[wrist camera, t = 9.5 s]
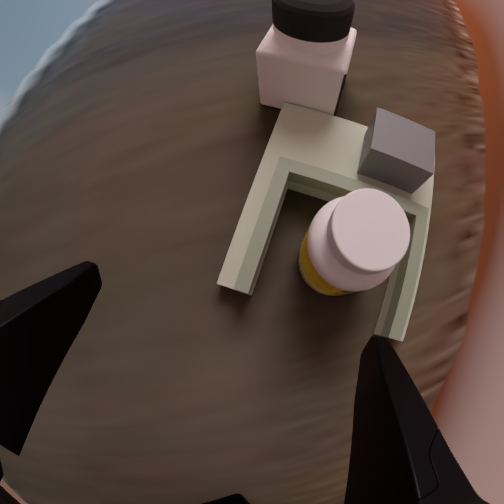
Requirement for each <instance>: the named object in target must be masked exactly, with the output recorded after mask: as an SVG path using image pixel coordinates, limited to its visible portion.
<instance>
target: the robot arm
mask: <svg viewBox="0 0 504 504" xmlns="http://www.w3.org/2000/svg"><path fill="white" fill-rule="evenodd" d="M101 286H102V281H101V277H100V273H99V269H98V266H97V265H96V264H95V263H92V262H89V261H85V262H82V263H80V264H78V265H76V266H73V267H71V268H69V269H66V270H64V271H62V272H60V273H58V274H55V275H53V276H51V277H49V278H47V279H44V280H42V281H40V282H38V283H36V284H34V285H31V286H29V287H27V288H25V289H23V290H21V291H19V292H17V293H15V294H13V295H11V296H9V297H7V298H5V299H4V300H0V445H2V446H3V447H5V448H6V449H8V450H9V451H11V452H13V453H14V454H16V455H18V456H19V455H20V453H21V450H22V448H23V445H24V443H25V440H26V438H27V435H28V433H29V430H30V428H31V426H32V423H33V421H34V419H35V416H36V414H37V412H38V409H39V407H40V405H41V403H42V401H43V399H44V397H45V395H46V392H47V390H48V388H49V386H50V384H51V382H52V380H53V378H54V376H55V375H56V373H57V371H58V369H59V367H60V365H61V363H62V361H63V359H64V357H65V356H66V354H67V352H68V350H69V348H70V347H71V345H72V343H73V341H74V340H75V338H76V336H77V334H78V333H79V331H80V329H81V327H82V326H83V324H84V322H85V320H86V318H87V316H88V314H89V312H90V309H91V307H92V305H93V303H94V301H95V299H96V297H97V295H98V293H99V291H100V289H101ZM437 428H438V426H437V424H436V422H435V421H434V419H433V417H432V415H431V413H430V411H429V409H428V407H427V405H426V404H425V402H424V400H423V398H422V396H421V395H420V393H419V391H418V389H417V388H416V386H415V384H414V382H413V381H412V379H411V377H410V375H409V374H408V372H407V370H406V368H405V367H404V365H403V363H402V362H401V360H400V358H399V357H398V355H397V353H396V352H395V350H394V348H393V347H392V345H391V344H390V342H389V340H388V339H387V338H386V337H385V336H380V335H373V336H372V337H371V338H370V340H369V341H368V343H367V345H366V346H365V348H364V349H363V351H362V354H361V358H360V366H359V373H358V381H357V387H356V394H355V401H354V417H353V432H352V444H351V455H350V464H349V473H348V481H347V488H346V495H345V501H344V504H489V503H487V502H486V501H484V500H483V499H481V498H480V497H479V496H478V495H477V493H476V492H475V491H474V489H473V487H472V486H471V484H470V482H469V481H468V479H467V477H466V476H465V474H464V472H463V471H462V469H461V468H460V466H459V464H458V463H457V461H456V459H455V457H454V456H453V454H452V453H451V451H450V449H449V447H448V445H447V443H446V441H445V439H444V437H443V436H442V434H441V432H440V430H439V429H437ZM2 477H3V470H2V466H1V461H0V481H1V479H2ZM236 498H239V499H236ZM0 504H20V503H19V502H18V501H17V500H16V499H14V498H13V497H12V496H11V495H10V494H9V493H8V492H7V491H6V490H5V489H4V488H3V487H1V486H0ZM203 504H250V503H249V502H248V501H247V500H246V499H245V498H244V497H243V496H242V495H241V494H233V495H230V496H227V497H224V498H221V499H217V500H214V501H210V502H207V503H203Z"/></svg>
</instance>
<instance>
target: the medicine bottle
mask: <svg viewBox="0 0 504 504" xmlns="http://www.w3.org/2000/svg"><path fill="white" fill-rule="evenodd" d="M354 9H355V4H354V2H353V1H352V0H272V16H273V25H272V26H271V28H270V29H269V31H268V33H267V34H266V36H265V37H264V39H263V41H262V42H261V44H260V45H259V47H258V49H257V50H256V60H257V71H258V82H259V93H260V102H261V104H263V105H267V106H271V107H275V108H279V109H282V106H283V104H284V102H285V103H289V104H293V105H297V106H301V107H305V108H309V109H312V110H316V111H320V112H323V113H326V114H330V115H333V116H336V112H337V109H338V105H339V101H340V98H341V94H342V90H343V86H344V83H345V79H346V75H347V71H348V67H349V63H350V59H351V55H352V51H353V47H354V43H355V38H356V34H357V31H356V30H355V29H354V28H351V23H352V19H353V14H354Z"/></svg>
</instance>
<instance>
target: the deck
mask: <svg viewBox="0 0 504 504" xmlns="http://www.w3.org/2000/svg"><path fill="white" fill-rule="evenodd" d="M434 166H435V131H433V130H431V129H428V128H426V127H424V126H422V125H420V124H417V123H415V122H413V121H411V120H408V119H406V118H403V117H401V116H399V115H396V114H394V113H391V112H389V111H386V110H383V109H381V108H378V107H377V109H376V111H375V113H374V116H373V118H372V120H371V122H370V124H369V126H368V127H367V126H364V125H361V124H358V123H355V122H352V121H349V120H346V119H343V118H340V117H336V116H333V115H330V114H326V113H323V112H320V111H316V110H312V109H309V108H305V107H301V106H297V105H293V104H289V103H285V102H284V104H283V106H282V109H281V111H280V114H279V116H278V119H277V121H276V124H275V127H274V129H273V132H272V134H271V137H270V140H269V142H268V145H267V147H266V150H265V153H264V155H263V158H262V160H261V163H260V166H259V168H258V171H257V174H256V176H255V179H254V182H253V184H252V187H251V190H250V193H249V195H248V198H247V201H246V203H245V206H244V209H243V211H242V214H241V217H240V220H239V222H238V225H237V228H236V231H235V233H234V236H233V239H232V242H231V245H230V247H229V250H228V253H227V256H226V259H225V261H224V264H223V267H222V270H221V273H220V276H219V278H218V281H217V284H219V285H222V286H225V287H228V288H231V289H233V290H236V291H239V292H242V293H245V294H248V295H251V296H252V293H253V291H254V288H255V285H256V282H257V279H258V276H259V273H260V270H261V267H262V264H263V261H264V258H265V255H266V252H267V249H268V246H269V243H270V240H271V237H272V234H273V231H274V228H275V225H276V222H277V219H278V216H279V213H280V210H281V207H282V204H283V201H284V198H285V195H286V192H287V189H290V190H293V191H296V192H300V193H303V194H306V195H309V196H313V197H316V198H319V199H322V200H325V201H328V202H330V201H332V200H333V199H336V198H339V197H342V196H345V195H347V194H348V193H350V192H352V191H355V190H358V189H363V188H369V189H376V190H379V191H382V192H384V193H386V194H388V195H389V196H391V197H392V198H393V199H394V200H396V201H397V203H398V204H399V205H400V206H401V208H402V209H403V211H404V212H405V215H406V217H407V219H408V222H409V227H410V241H409V246H408V249H407V251H406V253H405V255H404V256H403V258H402V259H401V260H400V261H399V262H398V263H397V264H396V266H395V268H394V270H393V271H392V273H391V274H390V277H389V281H388V285H387V289H386V293H385V296H384V300H383V304H382V307H381V311H380V314H379V318H378V321H377V324H376V327H375V331H374V334H376V335H380V336H385V337H387V338H391V339H394V340H398V341H402V342H403V339H404V336H405V333H406V329H407V326H408V322H409V319H410V315H411V312H412V308H413V304H414V300H415V296H416V292H417V287H418V283H419V278H420V274H421V269H422V264H423V258H424V253H425V247H426V241H427V235H428V228H429V221H430V213H431V204H432V194H433V182H434Z"/></svg>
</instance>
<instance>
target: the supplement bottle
mask: <svg viewBox="0 0 504 504" xmlns="http://www.w3.org/2000/svg"><path fill="white" fill-rule="evenodd" d="M409 241H410V227H409V222H408V219H407V217H406V215H405V212H404V211H403V209H402V208H401V206H400V205H399V204H398V203H397V201H396V200H394V199H393V198H392V197H391V196H389V195H388V194H386V193H384V192H382V191H379V190H376V189H369V188H363V189H358V190H355V191H352V192H350V193H348V194H347V195H345V196H342V197H339V198H336V199H333V200H332V201H330V202H328V203H327V204H326V205H324V206H323V207H322V208H321V209H320V210H319V211H318V213H317V214H316V215H315V217H314V218H313V220H312V222H311V224H310V226H309V229H308V231H307V233H306V235H305V237H304V239H303V241H302V244H301V246H300V249H299V254H298V266H299V270H300V273H301V275H302V277H303V279H304V281H305V282H306V283H307V284H308V285H309V286H310V287H311V288H312V289H313V290H315V291H316V292H318V293H321V294H324V295H328V296H340V295H344V294H350V293H354V292H361V291H364V290H368V289H371V288H373V287H375V286H377V285H379V284H380V283H382V282H383V281H384V280H385V279H386V278H387V277H388V276H389V275H390V274H391V273H392V271H393V270H394V268H395V266H396V264H397V263H398V262H399V261H400V260H401V259H402V258H403V256H404V255H405V253H406V251H407V249H408V246H409Z"/></svg>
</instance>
